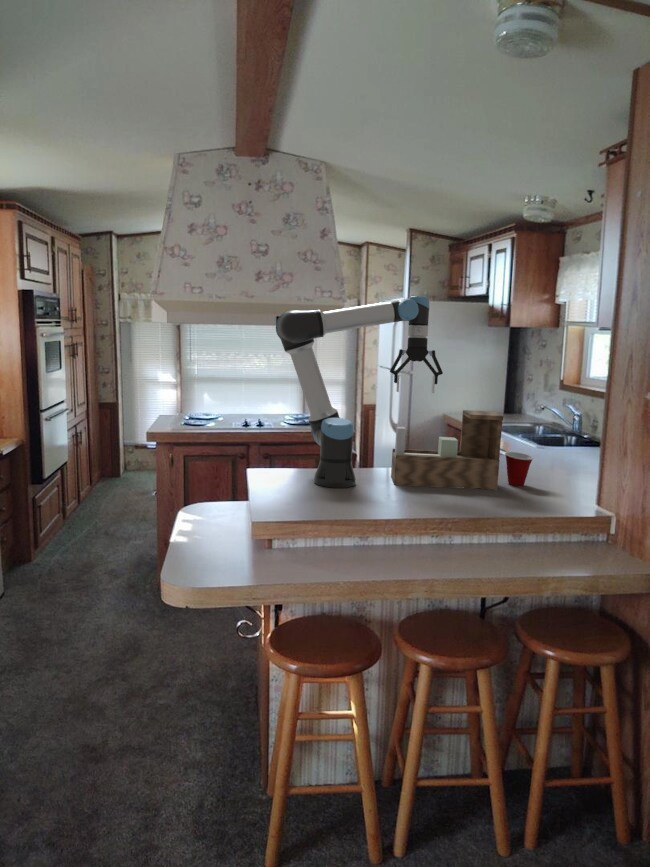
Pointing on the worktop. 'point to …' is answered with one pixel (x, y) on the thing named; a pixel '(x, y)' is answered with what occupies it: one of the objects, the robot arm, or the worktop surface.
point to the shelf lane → (471, 464)
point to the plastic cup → (517, 467)
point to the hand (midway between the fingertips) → (415, 392)
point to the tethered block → (445, 449)
